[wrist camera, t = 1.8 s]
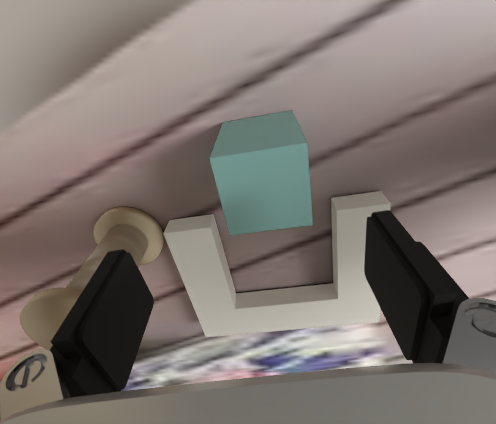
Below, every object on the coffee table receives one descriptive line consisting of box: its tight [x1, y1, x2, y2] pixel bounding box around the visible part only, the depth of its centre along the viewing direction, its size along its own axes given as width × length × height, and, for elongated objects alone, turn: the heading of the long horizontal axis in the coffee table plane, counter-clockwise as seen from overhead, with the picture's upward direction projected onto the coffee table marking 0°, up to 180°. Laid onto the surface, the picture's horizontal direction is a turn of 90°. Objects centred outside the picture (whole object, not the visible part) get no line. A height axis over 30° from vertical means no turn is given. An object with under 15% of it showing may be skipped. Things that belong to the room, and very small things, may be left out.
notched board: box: [163, 191, 391, 337], centre depth 27 cm, size 18×14×2 cm
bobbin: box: [20, 207, 164, 350], centre depth 22 cm, size 6×6×10 cm
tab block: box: [209, 110, 313, 236], centre depth 19 cm, size 5×5×7 cm
